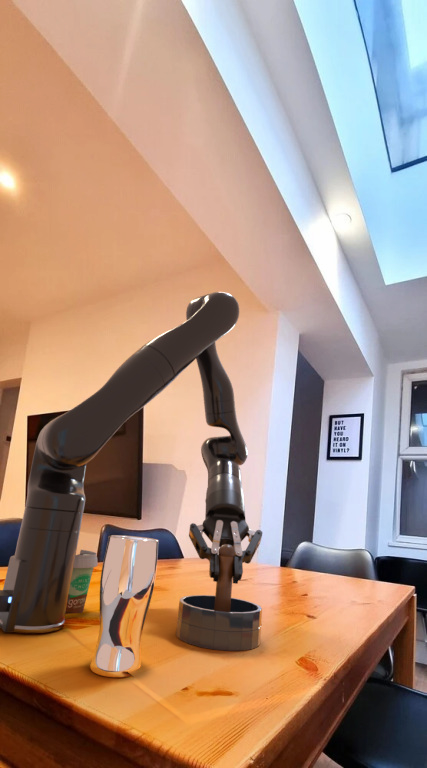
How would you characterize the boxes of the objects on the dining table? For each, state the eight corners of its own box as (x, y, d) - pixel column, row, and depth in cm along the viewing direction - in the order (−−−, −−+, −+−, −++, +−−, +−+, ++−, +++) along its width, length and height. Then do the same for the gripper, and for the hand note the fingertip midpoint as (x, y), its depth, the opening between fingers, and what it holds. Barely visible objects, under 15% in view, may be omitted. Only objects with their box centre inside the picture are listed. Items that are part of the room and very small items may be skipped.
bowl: (210, 660, 58) (213, 615, 59) (159, 633, 68) (164, 596, 70) (277, 650, 65) (278, 610, 67) (222, 627, 75) (225, 594, 77)
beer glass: (93, 681, 47) (115, 538, 51) (80, 660, 53) (101, 533, 57) (152, 676, 50) (168, 541, 54) (133, 657, 56) (149, 537, 60)
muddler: (218, 639, 65) (225, 544, 69) (202, 632, 68) (210, 542, 72) (237, 637, 67) (244, 545, 71) (221, 630, 70) (228, 543, 74)
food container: (66, 623, 68) (78, 557, 71) (33, 617, 70) (46, 553, 73) (101, 609, 80) (110, 553, 83) (72, 605, 81) (82, 549, 84)
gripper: (191, 484, 81) (184, 559, 66) (263, 491, 82) (273, 567, 66) (187, 512, 84) (180, 590, 69) (256, 519, 85) (265, 598, 70)
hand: (226, 578), depth 68 cm, fingers closed on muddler, 2 cm apart
